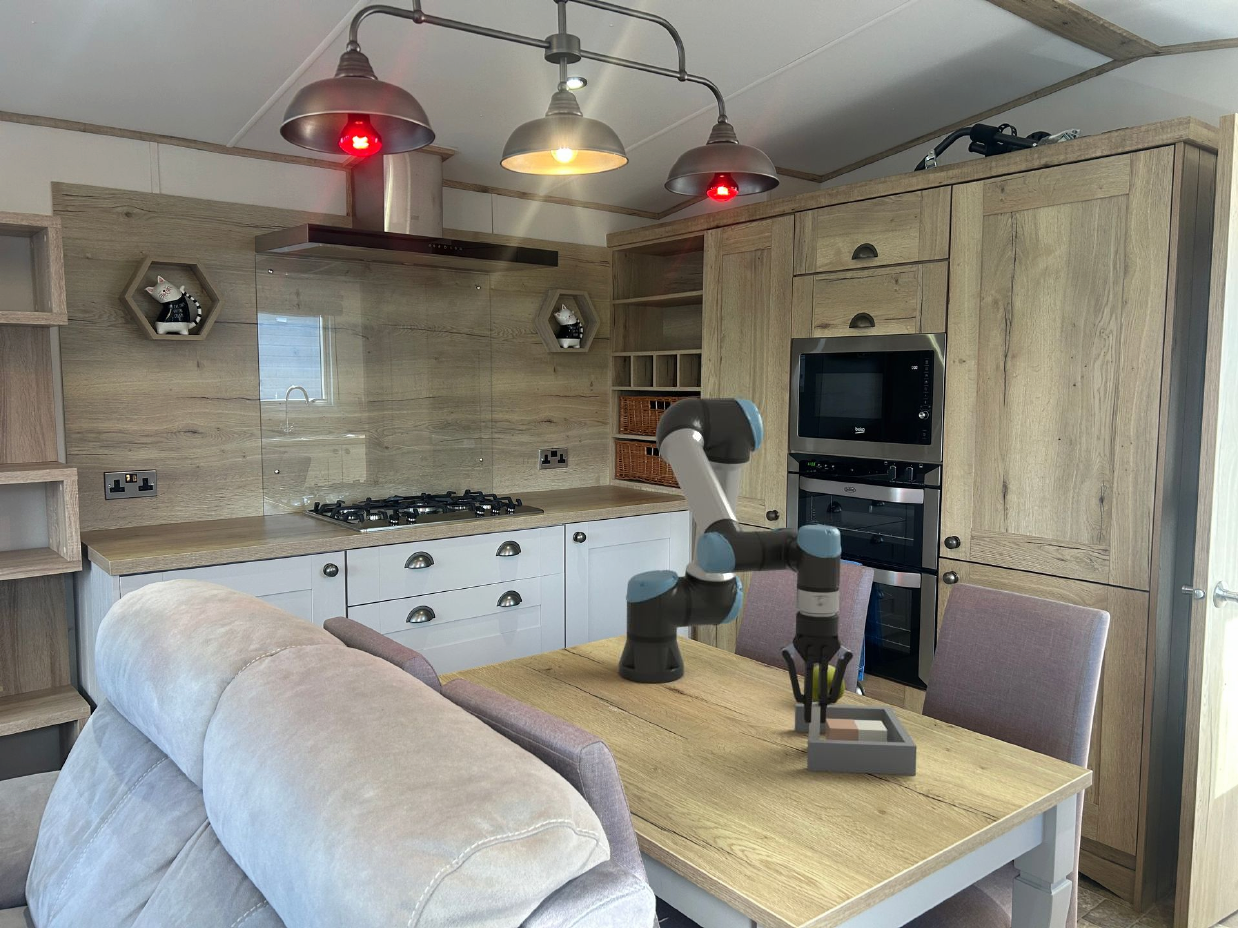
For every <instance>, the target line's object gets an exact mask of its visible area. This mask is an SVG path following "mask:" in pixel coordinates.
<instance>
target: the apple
mask: <svg viewBox="0 0 1238 928" xmlns="http://www.w3.org/2000/svg"><path fill="white" fill-rule="evenodd" d="M835 669H836V667H835V666H832V665H830V664H828V675H827V695H828V694H829V690H830V687H831V683H832V679H833V676H834V672H835ZM818 677H819V664H817V665H816V666H814V669H813V694H812V701H813V702H818ZM845 684H846V683H845V679H844V678H843V681H842V685H841V688H840V692H839V695H838V699H837V702H838V701H839V700H840V699H841V698H843V696H844V693H845V690H846V685H845Z"/></svg>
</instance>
